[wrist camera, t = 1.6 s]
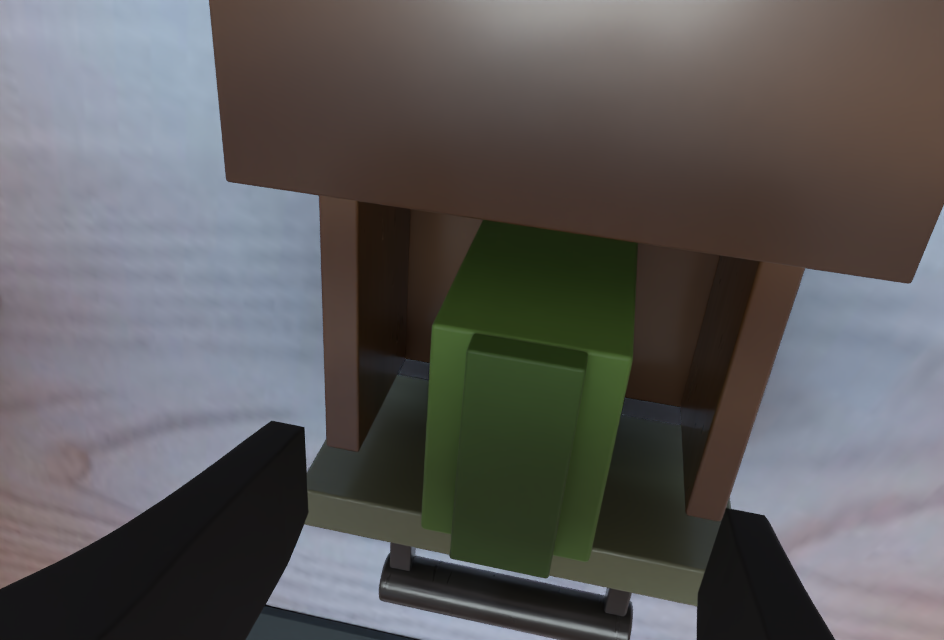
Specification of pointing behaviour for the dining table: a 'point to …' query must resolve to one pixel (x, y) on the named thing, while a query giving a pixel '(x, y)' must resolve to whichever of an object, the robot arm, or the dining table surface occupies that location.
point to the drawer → (637, 441)
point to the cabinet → (606, 117)
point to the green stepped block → (527, 394)
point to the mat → (308, 628)
